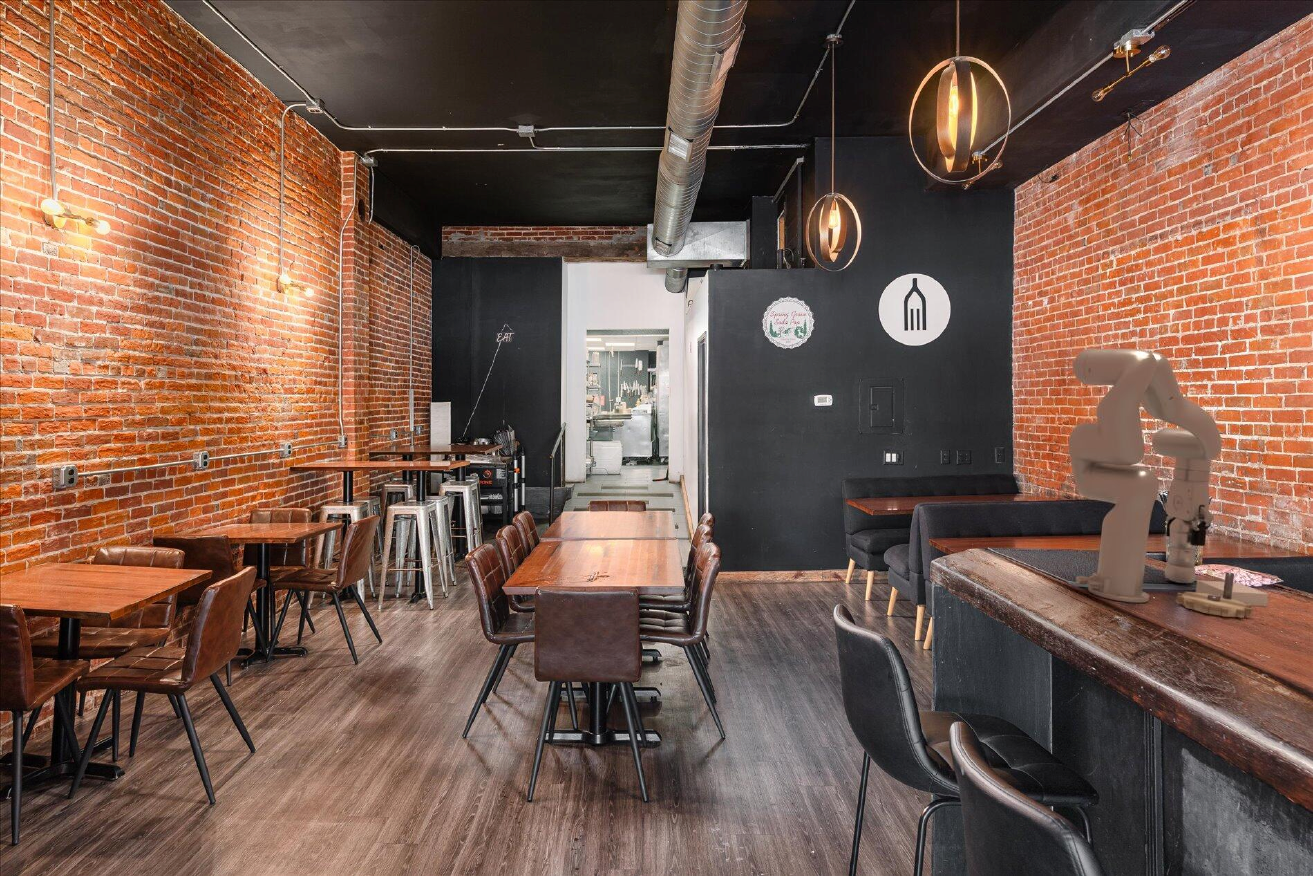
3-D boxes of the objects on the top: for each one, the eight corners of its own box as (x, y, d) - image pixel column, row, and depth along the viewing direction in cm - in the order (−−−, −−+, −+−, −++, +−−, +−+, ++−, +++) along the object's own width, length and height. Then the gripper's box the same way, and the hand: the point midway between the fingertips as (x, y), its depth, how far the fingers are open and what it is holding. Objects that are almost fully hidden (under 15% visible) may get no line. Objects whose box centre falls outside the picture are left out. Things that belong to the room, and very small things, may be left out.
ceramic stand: (1224, 604, 180) (1226, 591, 180) (1195, 591, 190) (1197, 580, 190) (1267, 606, 180) (1268, 594, 180) (1236, 594, 190) (1237, 582, 190)
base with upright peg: (1249, 622, 164) (1254, 587, 164) (1171, 607, 174) (1175, 573, 173) (1253, 609, 175) (1257, 576, 174) (1179, 595, 184) (1183, 563, 184)
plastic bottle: (1199, 588, 194) (1208, 511, 193) (1170, 585, 196) (1178, 509, 194) (1187, 581, 201) (1195, 507, 199) (1158, 578, 202) (1167, 504, 200)
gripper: (1155, 470, 204) (1149, 533, 206) (1199, 480, 187) (1192, 548, 189) (1183, 471, 204) (1177, 534, 206) (1230, 482, 187) (1223, 549, 189)
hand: (1184, 541), depth 197 cm, fingers open, 9 cm apart
